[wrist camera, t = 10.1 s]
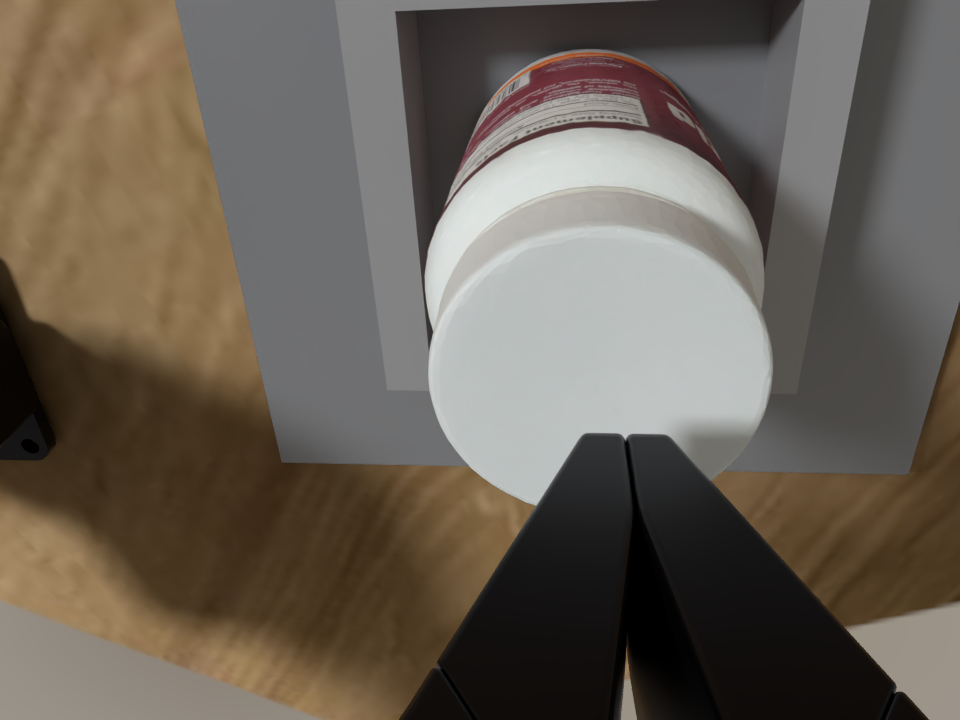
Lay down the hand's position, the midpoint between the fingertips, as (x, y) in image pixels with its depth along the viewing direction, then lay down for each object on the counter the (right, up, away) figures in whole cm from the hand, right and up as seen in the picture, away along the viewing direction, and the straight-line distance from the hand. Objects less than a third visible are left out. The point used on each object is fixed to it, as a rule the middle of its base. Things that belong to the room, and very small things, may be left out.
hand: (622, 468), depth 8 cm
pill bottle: (+1, +5, +9) cm, 10 cm away
